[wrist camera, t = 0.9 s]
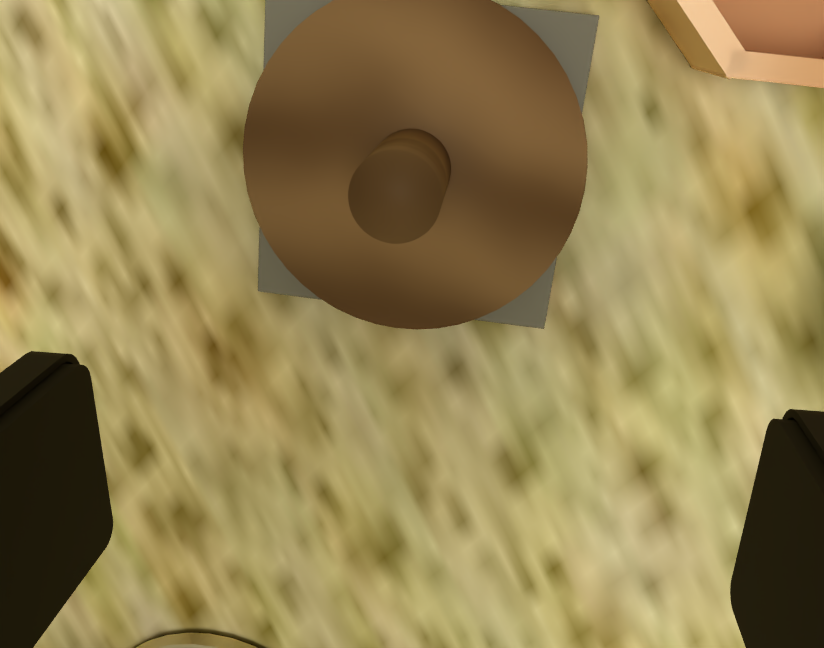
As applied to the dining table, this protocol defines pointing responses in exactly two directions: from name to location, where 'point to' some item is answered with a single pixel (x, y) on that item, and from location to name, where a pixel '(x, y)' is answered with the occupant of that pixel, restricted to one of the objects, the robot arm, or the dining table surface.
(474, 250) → the lid
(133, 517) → the dining table surface
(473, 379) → the dining table surface
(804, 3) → the bowl
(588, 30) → the mat
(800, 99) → the dining table surface
